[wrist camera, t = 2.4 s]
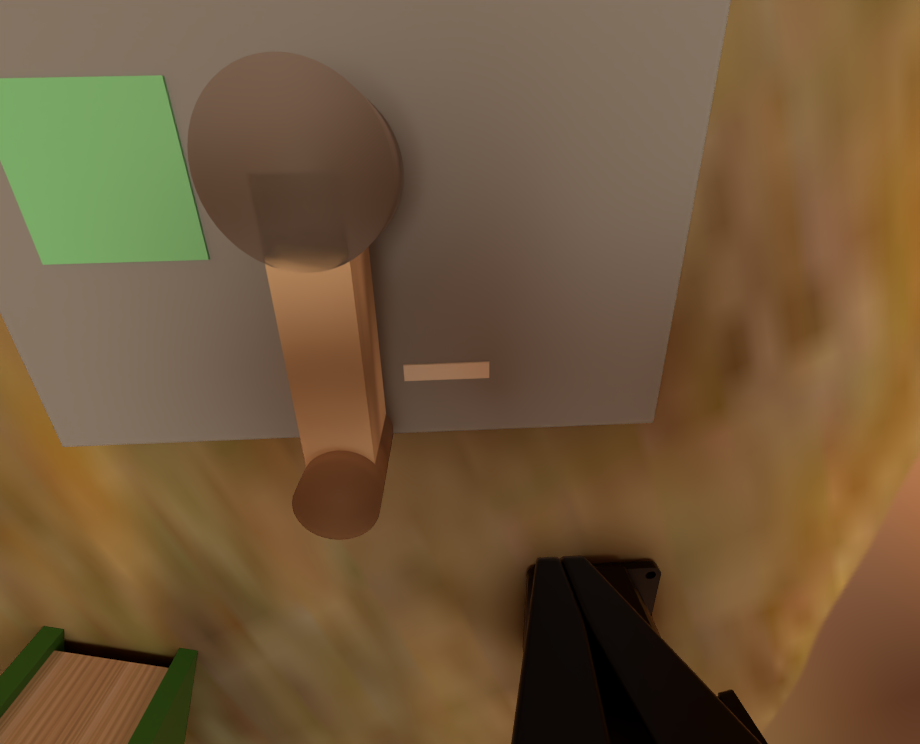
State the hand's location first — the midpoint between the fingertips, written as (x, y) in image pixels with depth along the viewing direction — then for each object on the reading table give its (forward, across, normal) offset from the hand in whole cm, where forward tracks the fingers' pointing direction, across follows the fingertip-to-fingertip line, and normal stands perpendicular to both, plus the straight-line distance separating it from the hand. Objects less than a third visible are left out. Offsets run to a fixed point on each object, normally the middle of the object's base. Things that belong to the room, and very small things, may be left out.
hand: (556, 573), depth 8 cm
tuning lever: (+8, +5, -3) cm, 10 cm away
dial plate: (+10, +5, -7) cm, 13 cm away
